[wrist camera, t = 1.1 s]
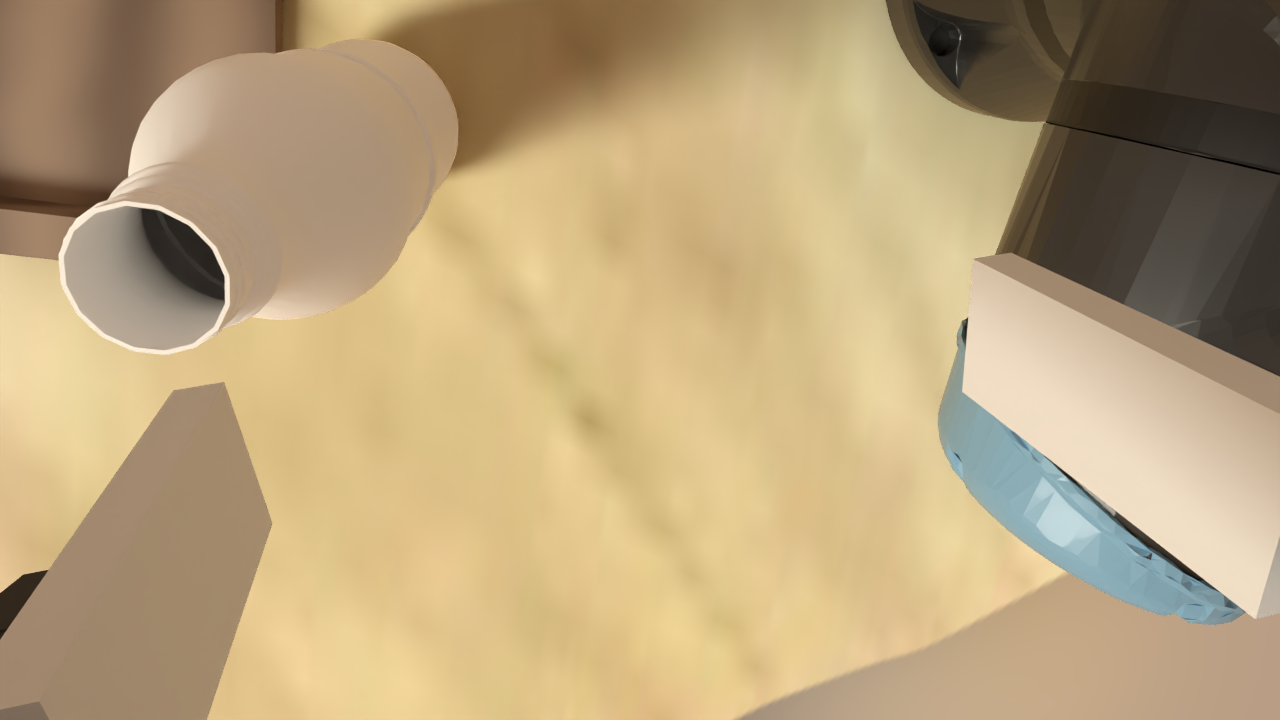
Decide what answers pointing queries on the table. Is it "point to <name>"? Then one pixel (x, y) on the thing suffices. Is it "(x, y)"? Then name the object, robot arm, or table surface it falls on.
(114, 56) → the walnut cradle
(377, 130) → the water bottle
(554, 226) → the table surface
